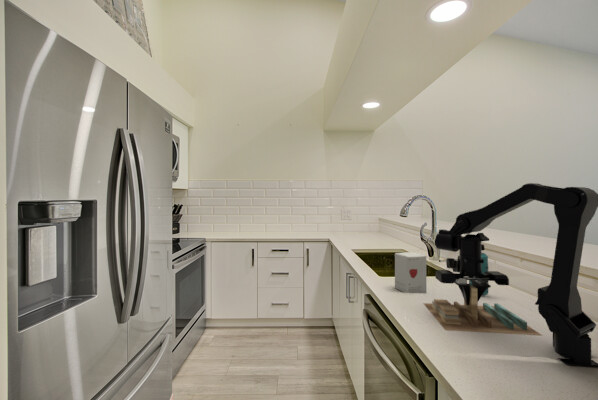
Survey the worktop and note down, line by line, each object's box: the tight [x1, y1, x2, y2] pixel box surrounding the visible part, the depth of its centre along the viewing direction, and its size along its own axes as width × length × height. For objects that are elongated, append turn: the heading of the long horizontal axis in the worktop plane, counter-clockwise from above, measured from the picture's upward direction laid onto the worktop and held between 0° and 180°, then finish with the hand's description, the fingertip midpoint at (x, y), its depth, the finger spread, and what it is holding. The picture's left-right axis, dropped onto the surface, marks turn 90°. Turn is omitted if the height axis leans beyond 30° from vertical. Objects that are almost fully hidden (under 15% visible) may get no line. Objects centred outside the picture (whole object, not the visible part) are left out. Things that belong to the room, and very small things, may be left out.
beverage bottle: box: [468, 243, 490, 296], centre depth 105 cm, size 6×7×20 cm
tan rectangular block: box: [463, 283, 479, 319], centre depth 84 cm, size 5×2×9 cm, turn 172°
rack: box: [423, 301, 543, 336], centre depth 84 cm, size 20×24×3 cm
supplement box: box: [394, 251, 427, 294], centre depth 112 cm, size 9×9×15 cm
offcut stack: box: [431, 298, 461, 325], centre depth 85 cm, size 12×4×4 cm, turn 172°
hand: (470, 305), depth 84 cm, fingers closed on tan rectangular block, 2 cm apart
